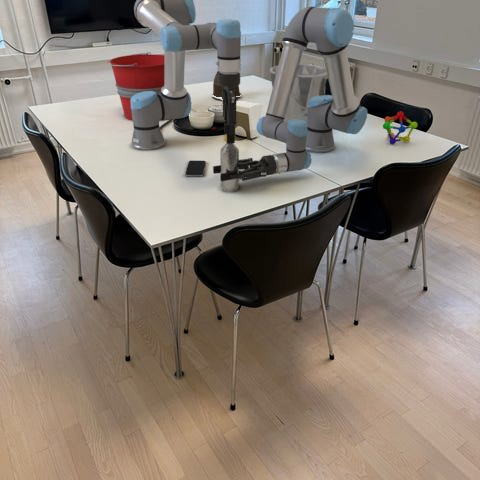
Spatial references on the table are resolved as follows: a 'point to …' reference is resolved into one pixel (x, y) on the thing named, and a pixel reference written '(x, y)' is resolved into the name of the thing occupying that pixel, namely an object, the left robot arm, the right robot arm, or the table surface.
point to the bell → (218, 89)
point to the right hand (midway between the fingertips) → (217, 173)
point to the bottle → (229, 166)
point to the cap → (225, 137)
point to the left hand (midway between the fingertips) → (229, 140)
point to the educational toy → (398, 128)
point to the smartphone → (195, 168)
